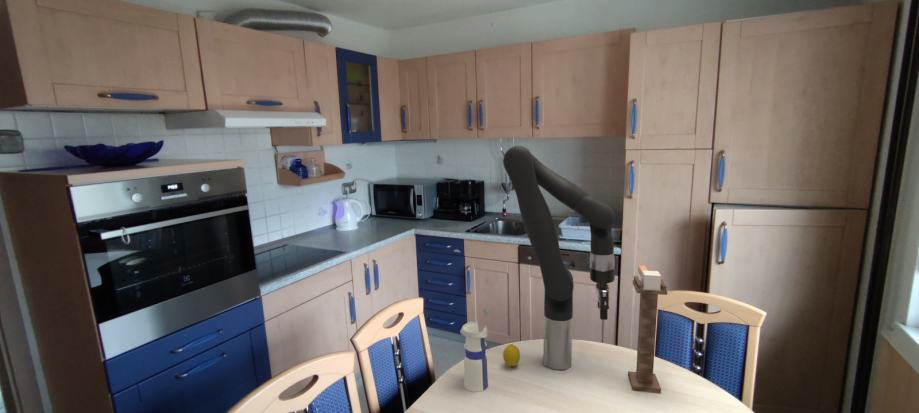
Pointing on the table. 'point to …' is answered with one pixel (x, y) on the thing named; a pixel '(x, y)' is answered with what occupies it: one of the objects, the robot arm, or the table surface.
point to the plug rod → (649, 278)
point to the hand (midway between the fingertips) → (602, 313)
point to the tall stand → (646, 340)
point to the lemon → (511, 355)
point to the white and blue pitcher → (475, 357)
